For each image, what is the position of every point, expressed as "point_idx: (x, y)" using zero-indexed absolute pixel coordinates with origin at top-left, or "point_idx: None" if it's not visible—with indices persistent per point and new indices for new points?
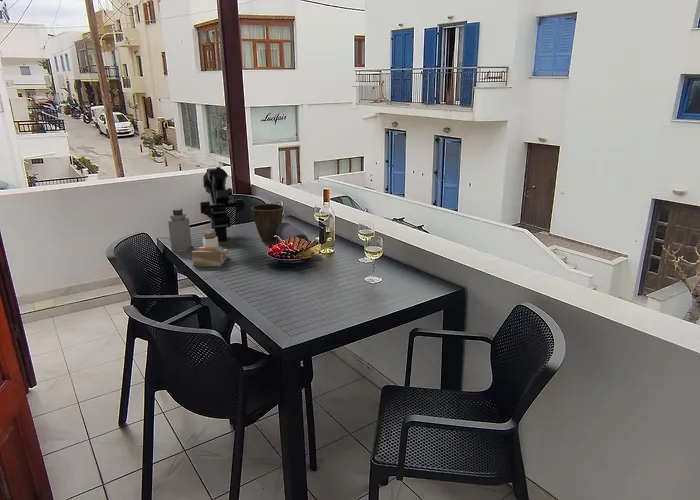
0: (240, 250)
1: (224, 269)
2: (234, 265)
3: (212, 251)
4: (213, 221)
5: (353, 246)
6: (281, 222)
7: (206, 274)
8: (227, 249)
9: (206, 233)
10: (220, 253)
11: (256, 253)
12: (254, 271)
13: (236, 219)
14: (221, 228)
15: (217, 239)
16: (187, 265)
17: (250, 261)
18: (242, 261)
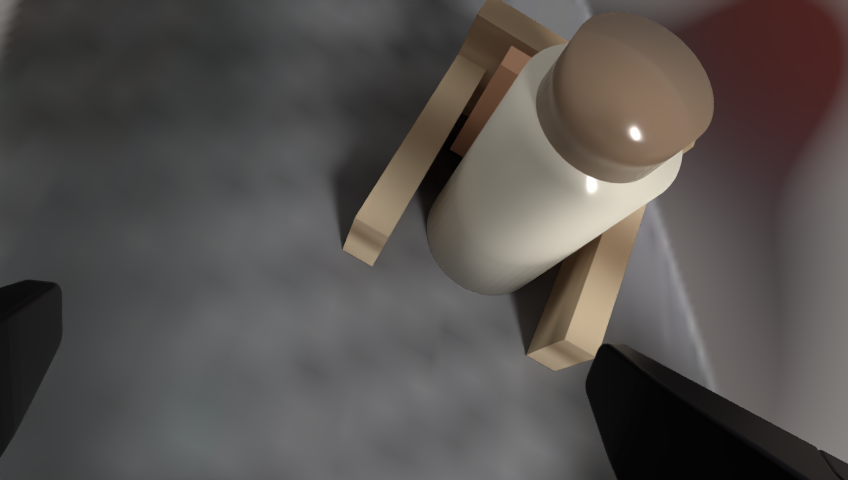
0: (141, 420)
1: (432, 13)
2: (348, 41)
3: (540, 38)
4: (648, 358)
5: None
6: None
7: (546, 2)
8: (355, 217)
9: (679, 52)
10: (445, 133)
11: (23, 221)
12: None
13: (13, 290)
14: None
15: (510, 88)
16: (658, 216)
17: (197, 49)
18: (260, 84)
